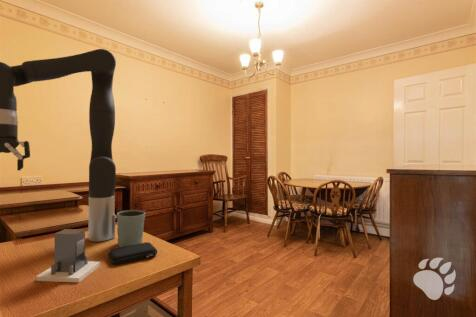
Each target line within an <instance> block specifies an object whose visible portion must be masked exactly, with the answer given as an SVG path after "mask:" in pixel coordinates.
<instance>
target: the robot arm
mask: <svg viewBox="0 0 476 317" xmlns="http://www.w3.org/2000/svg"><path fill="white" fill-rule="evenodd" d="M116 65H117V60H116V57H115V56H114V54H113V53H112V52H111V51H110V50H107V49H104V48H97V49H94V50H90V51H85V52H83V53H78V54H73V55H68V56H67V55H66V56H62V57H53V58H45V59H44V58H43V59H35V60H26V61H24V62H22V63H21V64H19V65H18V64H17V65H11V66H10V65H9V64H6V63H4V62H2V61H0V153H3V154H4V153H5V154H10V153H12V154H13V155H14V156H15V157H16V158H17V160H16V161H17V162H16V163H17V164H16V165H17V166H16V167H17V169H16V170H17V171H21V170H22V169H23V168H24V160H25V159H28V158H31V148H30V147H31V146H30V142H29V141H28V140H24V141H19V138H18V133H19V132H18V131H19V130H18V128H19V127H18V124H19V121H18V112H17V107H18V105H17V104H18V102H17V97H16V94H15V93H14V90H15V88H14V87H19V86H24V85H26V84H30V83H34V82H35V83H36V82H43V81H50V80H51V81H52V80H56V79H61V78H63V77H64V78H65V77H67V76H70V75H74V74H79V73H86V72H90V75H91V85H92V86H91V94H90V99H89V100H90V101H89V106H88V107H89V110H88V113H89V114H88V118H89V119H88V121H89V122H88V123H89V132H90V134H89V135H90V140H91V153H90V159H89V160H90V161H89V165H88V225H87V226H88V227H87V228H88V230H87V231H88V232H87V237H88V241H90V242H103V241H104V242H105V241H108V240H112V239H115V238H116V214H115V202H116V201H115V194H116V192H115V190H116V179H117V178H116V176H117V174H116V173H117V171H116V170H117V169H116V167H117V166H116V164H115V162H114V159H113V149H112V146H113V145H112V144H113V140H114V139H113V138H114V134H115V127H116V126H115V125H116V108H115V99H114V94H113V82H114V74H115V71H116ZM19 145H20V146H21V147H22V148H24V149H23V150H24V155H22V154H21V153H20V152H19V150H18V149H17V147H18V146H19Z"/></svg>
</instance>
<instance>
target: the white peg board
mask: <svg viewBox="0 0 476 317" xmlns="http://www.w3.org/2000/svg"><path fill="white" fill-rule="evenodd" d="M100 266H101V261H89V255H88V254H85V266H84V267H82V268H81V269H80V270H78V271H77V272H75V273H73V265H69V272H56V265H55V264H51V265H50V267H49V268H48V269H46V270H45V271H42V272H41V273H39V274H38V275H36V276H35V281H36V282H58V283H59V282H61V283H62V282H63V283H81V282H82V281H83V280H84V279H85V278H86V277H88V276H89V275H90V274H92V273H93V272H94V271H95V270H97V269H98V268H100Z"/></svg>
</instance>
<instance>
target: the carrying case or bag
mask: <svg viewBox="0 0 476 317" xmlns="http://www.w3.org/2000/svg"><path fill="white" fill-rule="evenodd" d="M157 254H158V250H157V248H156V247H155V246H154V244H152V243H151V242H142V243H140V244H135V245H129V246H124V247H120V246H118V247H114V248H111V249H110V250H109V252H107V256H108V259H109V261H110V263H111V264H113V265H115V266H117V265H123V264H127V263H131V262H132V263H133V262H137V261H141V260H145V258H146V259H150V258H153V257H155V256H156V255H157Z"/></svg>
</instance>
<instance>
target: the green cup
mask: <svg viewBox="0 0 476 317" xmlns="http://www.w3.org/2000/svg"><path fill="white" fill-rule="evenodd" d="M145 219H146V212H145V211H144V210H139V209H129V210H122V211H119V212H117V214H116V222H117V228H116V230H117V245H118V247H124V246H129V245H135V244H140V243H143V236H144V235H143V234H144V227H145Z"/></svg>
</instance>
